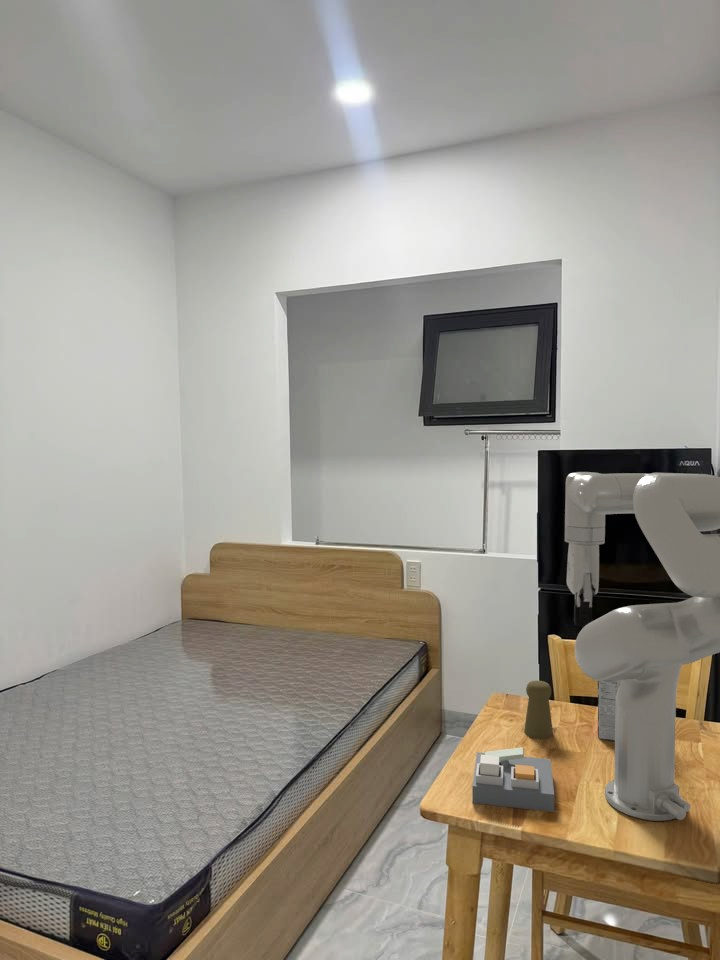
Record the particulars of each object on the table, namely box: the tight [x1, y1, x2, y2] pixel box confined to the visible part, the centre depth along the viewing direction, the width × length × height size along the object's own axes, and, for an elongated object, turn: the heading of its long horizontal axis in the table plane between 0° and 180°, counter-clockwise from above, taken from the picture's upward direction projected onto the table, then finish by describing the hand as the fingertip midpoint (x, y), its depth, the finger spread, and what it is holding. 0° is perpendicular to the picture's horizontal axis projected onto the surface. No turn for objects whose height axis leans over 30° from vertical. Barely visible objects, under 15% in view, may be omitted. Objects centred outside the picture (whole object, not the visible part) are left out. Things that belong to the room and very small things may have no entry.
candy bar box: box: [597, 680, 622, 742], centre depth 144 cm, size 11×5×16 cm, turn 155°
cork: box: [523, 680, 554, 740], centre depth 144 cm, size 6×6×11 cm
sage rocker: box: [484, 747, 525, 761], centre depth 124 cm, size 7×3×1 cm, turn 77°
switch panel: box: [471, 752, 555, 813], centre depth 121 cm, size 14×13×4 cm
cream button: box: [480, 755, 499, 776], centre depth 119 cm, size 3×3×2 cm
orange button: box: [515, 765, 534, 780], centre depth 117 cm, size 3×3×2 cm
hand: (582, 625), depth 134 cm, fingers closed
